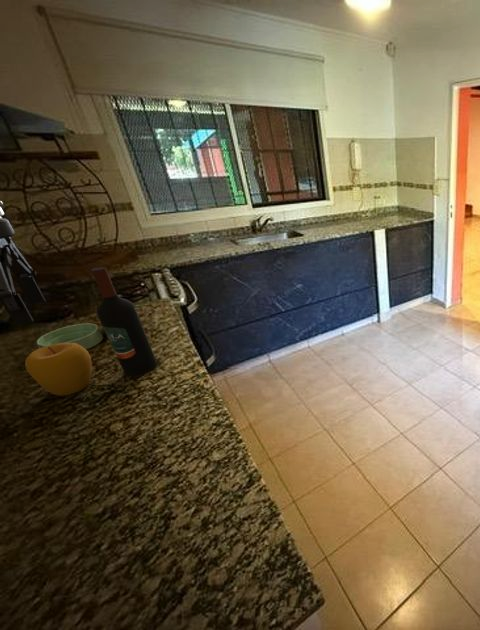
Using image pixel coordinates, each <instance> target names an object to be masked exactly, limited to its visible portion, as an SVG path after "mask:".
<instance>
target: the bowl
mask: <svg viewBox="0 0 480 630" xmlns="http://www.w3.org/2000/svg"><path fill="white" fill-rule="evenodd" d="M103 339H104V336H103V334H102V331H101V329H100V327H99V325H98V324H95V323H78V324H73V325H72V324H71V325H68V326H64V327H59V328H57V329H54V330H51V331H49V332H47V333H45V334H43V335H42V336H40V337H39V338H38V339H37V340H36V345H37V347H38V349H39V348H42V347H45V346H49V345H54V344H58V343H77V344H79V345H80V346H82V347H84V348H85V349H86V350H88V349H91V348H93V347H95V346H96V345H98V344H100V343H101V342H102V341H103Z"/></svg>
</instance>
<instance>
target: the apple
mask: <svg viewBox="0 0 480 630" xmlns="http://www.w3.org/2000/svg"><path fill="white" fill-rule="evenodd" d="M24 362H25V363H24V364H25V369H26V372H27V373H28V374H29V376H31V377H32V379H34V380H35V382H36V383H37V384H38V385H39V386H40V387H41V388H42V389H44V390H46V392H48V393H50V394H52V395H55V396H59V397H63V396H69V395H73V394H76V393H78V392H81V391H82V390H84V389H85V388H86V387H88V385H90V382H91V379H92V372H93V370H92V369H93V364H92V363H93V362H92V357H91V355H90V352H89V351H88V349H85V348H84V347H82V346H80V345H79V344H77V343H58V344H54V345H49V346H45V347H42V348H39V347H38V348H36V349H35V350H33V351H32V352H31V353H29V355H28V356H27V357H26V359H25V360H24Z"/></svg>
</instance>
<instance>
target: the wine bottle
mask: <svg viewBox="0 0 480 630" xmlns="http://www.w3.org/2000/svg"><path fill="white" fill-rule="evenodd" d="M90 272H91V274H92V277H93V278H94V281H95V282H96V285H97V287H98V289H99V292H100V294H101V296H102V302H101V303H100V304H99V305H98V306H97V309H96V316H97V315H98V317H99V319H100V322H101V324H102V325H101V324H100V325H101V326H102V328H103V330H104V332H105V335H106V336H107V339H108V341H109V343H110V345H111V347H112V350H113V352H114V354H115V356H116V359H117V360H118V363H119V364H120V366H121V369H122V371H123V373H124V375H125V376H126V377H139V376H143V375H146V374H148V373H150V372H152V371H153V370H155V369H156V368H157V367H158V365H159V363H158V361H157V358H156V356H155V353H154V351H153V348H152V346H151V343H150V341H149V337H148V336H147V334H146V331H145V329H144V326H143V324H142V321H141V319H140V317H139V314H138V311H137V309H136V307H135V306H136V305H134V303H133V302H132V301H130V300H128V299H126V298H123V297H120V296H119V295H118V294H117V291H116V289H115V287H114V283H113V282H112V280H111V277H110V275H109V271H108V269H107V268H106V267H105V266H99V267H94V268H91V269H90ZM100 322H99V323H100Z"/></svg>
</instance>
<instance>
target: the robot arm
mask: <svg viewBox="0 0 480 630" xmlns="http://www.w3.org/2000/svg"><path fill="white" fill-rule="evenodd" d="M3 205H4V201H2V200H0V302H1V303H2V305H3V307H4V309H5V311H6V312H7V313H8V315H9V317H10V318H11V320H12V322H13V324H14V326H18V325H23V324H28V323H29V324H30V323H33V322H34V321H35V320H34V318H33V317H32V314H31V313H30V311H29V309H28V308H27V306H26V304H25V302H24V301H23V299H22V297H21V295H20V294H19V293H18V292H16V289H15V286H14V282H13V281H14V280H13V277H12V275H14V276H15V277H16V279H15V280H16V283H17V285H18V286H19V288H20V290H21V291H22V293H23V295H24V297H25V299H26V300H27V302H28V304H29V305H35V304H41V303H46V301H47V300H46V298H45V297H44V294H43V293H42V291H41V288H40V287H39V285H38V283H37V282H36V280H35V278H34V276H37V272H36V270H33V267H31V265H30V263H29V262H28V261H27V260H26V259H25V257H24V255H23V254H22V253H21V251H20V250H19V249H18V248H17V247H16V245H15V243H14V242H13V239H12V237H13V236H15V234H16V232H15V230H14V228H13V226H12V225H11V223H10V221H9V219H8V218H6V217H4V215H5V212H4V210H3V208H2V207H1V206H3ZM11 273H12V274H11Z"/></svg>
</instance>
